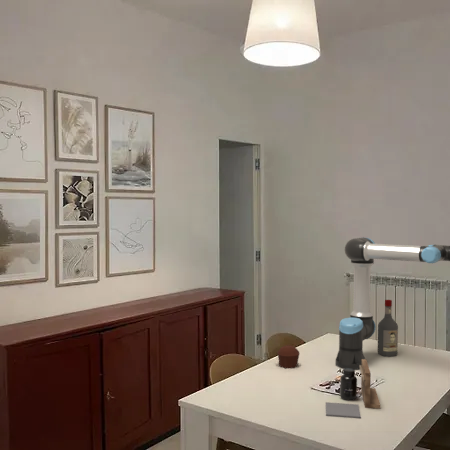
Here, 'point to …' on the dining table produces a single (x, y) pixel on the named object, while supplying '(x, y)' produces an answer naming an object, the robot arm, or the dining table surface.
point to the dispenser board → (368, 387)
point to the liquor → (387, 333)
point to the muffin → (288, 356)
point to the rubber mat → (342, 410)
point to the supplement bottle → (348, 384)
